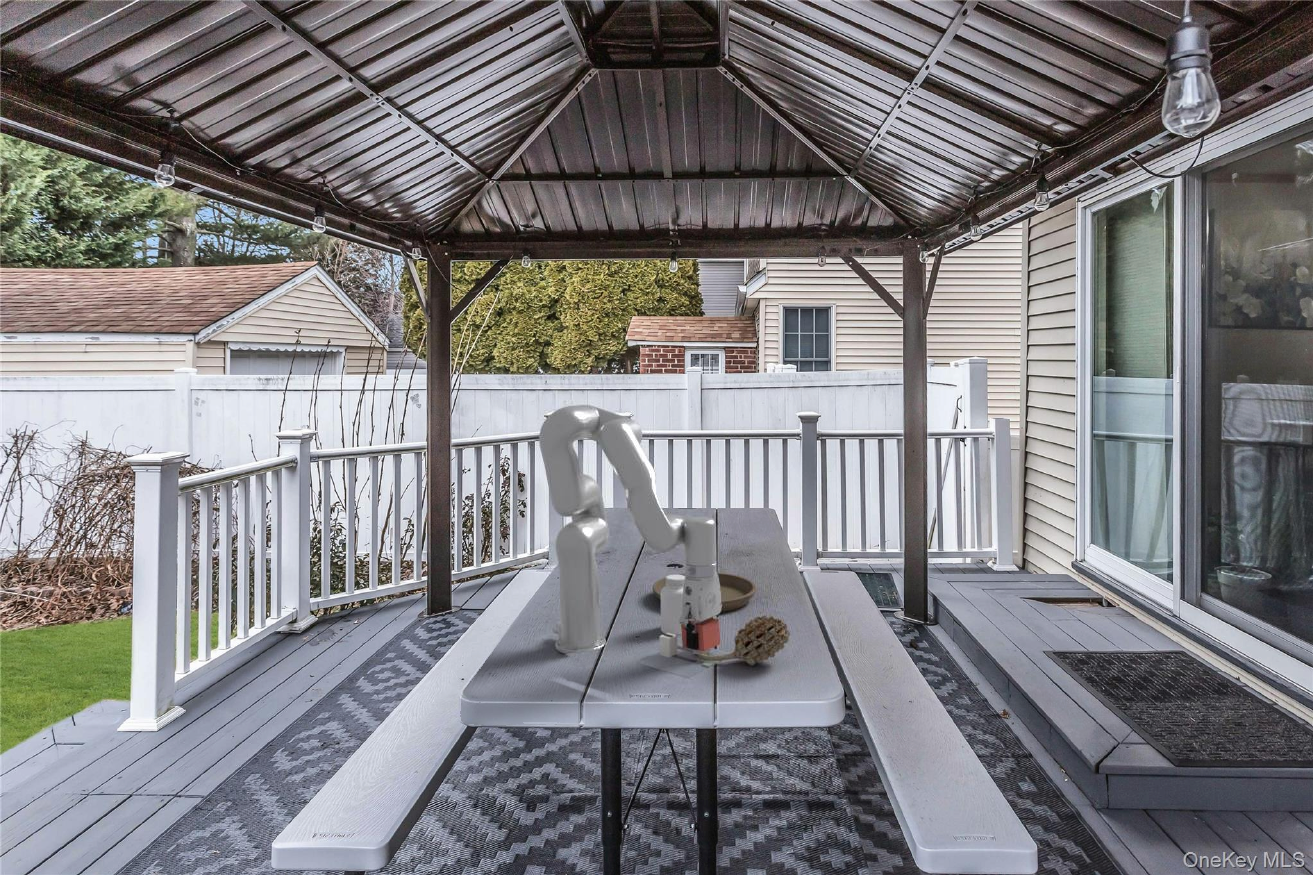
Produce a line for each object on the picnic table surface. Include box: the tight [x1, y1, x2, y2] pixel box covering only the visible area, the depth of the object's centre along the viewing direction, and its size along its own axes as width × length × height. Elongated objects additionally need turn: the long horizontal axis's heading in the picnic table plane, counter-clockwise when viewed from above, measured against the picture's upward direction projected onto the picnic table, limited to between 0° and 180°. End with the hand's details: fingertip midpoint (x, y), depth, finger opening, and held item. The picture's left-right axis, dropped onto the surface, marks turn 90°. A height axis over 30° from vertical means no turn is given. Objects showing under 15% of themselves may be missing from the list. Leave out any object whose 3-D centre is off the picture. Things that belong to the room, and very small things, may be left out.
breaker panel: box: [637, 633, 731, 679], centre depth 178 cm, size 15×18×6 cm
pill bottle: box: [660, 574, 685, 636], centre depth 198 cm, size 8×8×15 cm
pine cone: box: [697, 615, 791, 666], centre depth 174 cm, size 22×10×10 cm, turn 86°
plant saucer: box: [652, 572, 757, 613], centre depth 228 cm, size 31×31×5 cm
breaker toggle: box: [693, 649, 710, 654], centre depth 181 cm, size 3×3×4 cm
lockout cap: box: [681, 617, 721, 651], centre depth 181 cm, size 6×6×6 cm
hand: (701, 643), depth 181 cm, fingers closed on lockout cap, 6 cm apart
